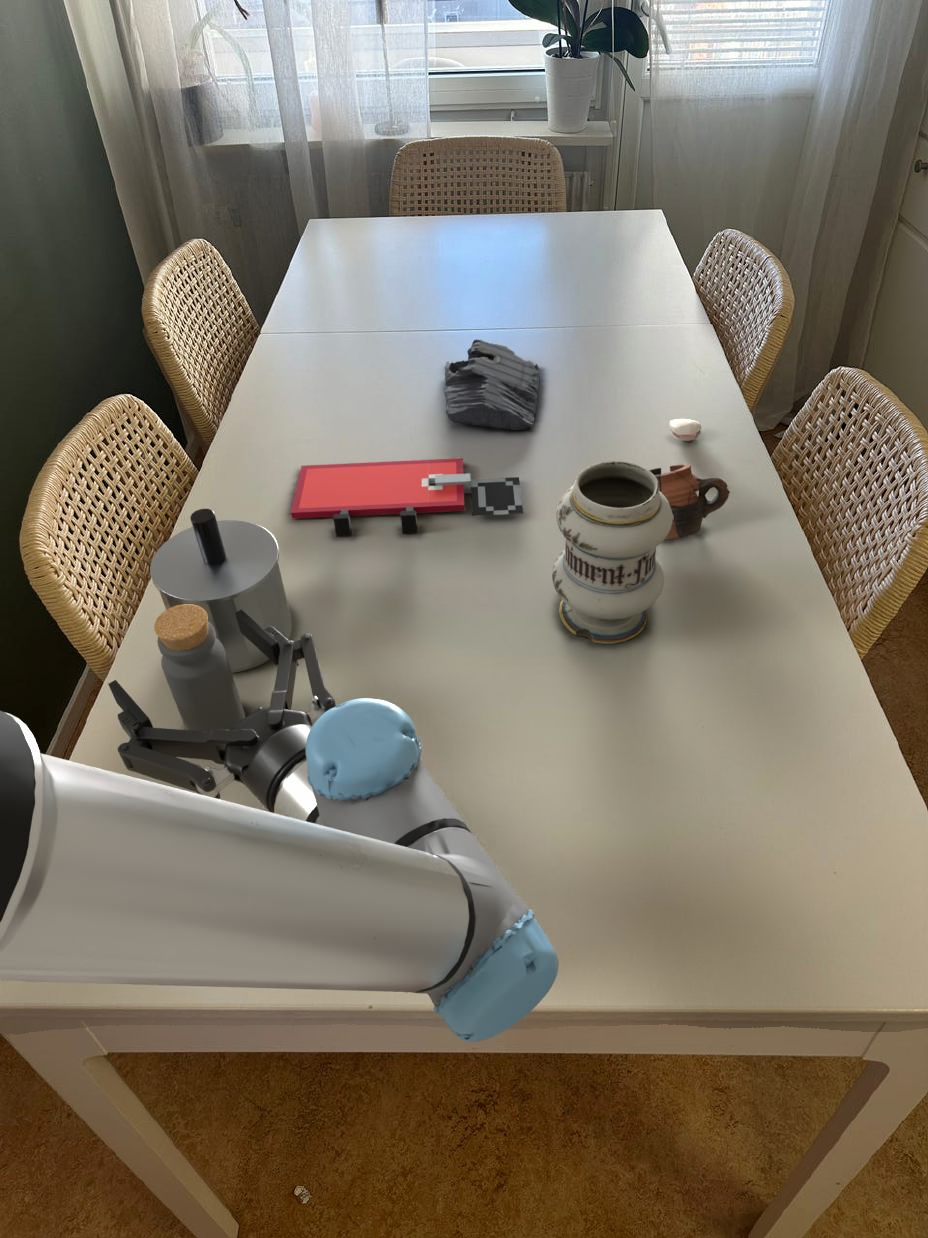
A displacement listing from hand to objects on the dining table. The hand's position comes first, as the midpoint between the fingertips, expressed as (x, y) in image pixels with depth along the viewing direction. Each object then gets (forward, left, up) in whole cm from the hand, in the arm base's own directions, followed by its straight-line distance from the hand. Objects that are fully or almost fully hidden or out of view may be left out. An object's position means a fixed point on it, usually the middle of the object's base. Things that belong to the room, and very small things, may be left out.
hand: (180, 654), depth 84 cm
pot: (0, +11, -8) cm, 14 cm away
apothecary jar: (+41, +18, -8) cm, 46 cm away
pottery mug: (+50, +37, -9) cm, 63 cm away
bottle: (+3, -2, -9) cm, 9 cm away
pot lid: (0, +11, +2) cm, 12 cm away
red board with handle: (+15, +38, -9) cm, 42 cm away
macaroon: (+52, +57, -9) cm, 78 cm away
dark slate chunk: (+23, +66, -8) cm, 71 cm away
